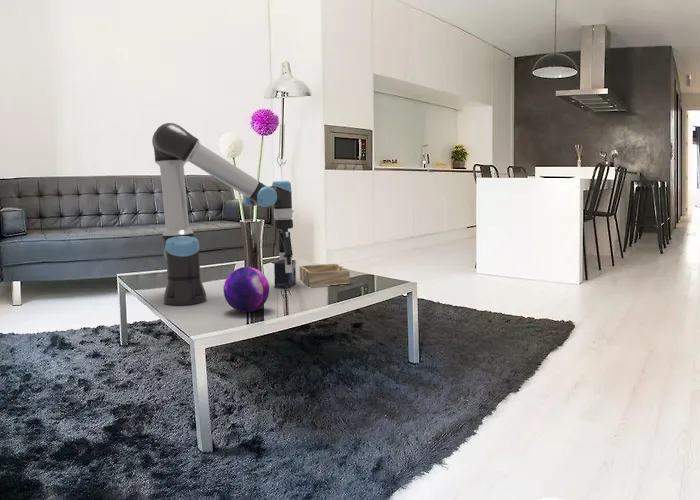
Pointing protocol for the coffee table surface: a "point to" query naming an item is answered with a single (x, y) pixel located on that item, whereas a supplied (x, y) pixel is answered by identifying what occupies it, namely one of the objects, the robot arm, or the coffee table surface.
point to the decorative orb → (246, 289)
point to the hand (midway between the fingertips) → (286, 270)
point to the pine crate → (324, 275)
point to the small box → (284, 275)
